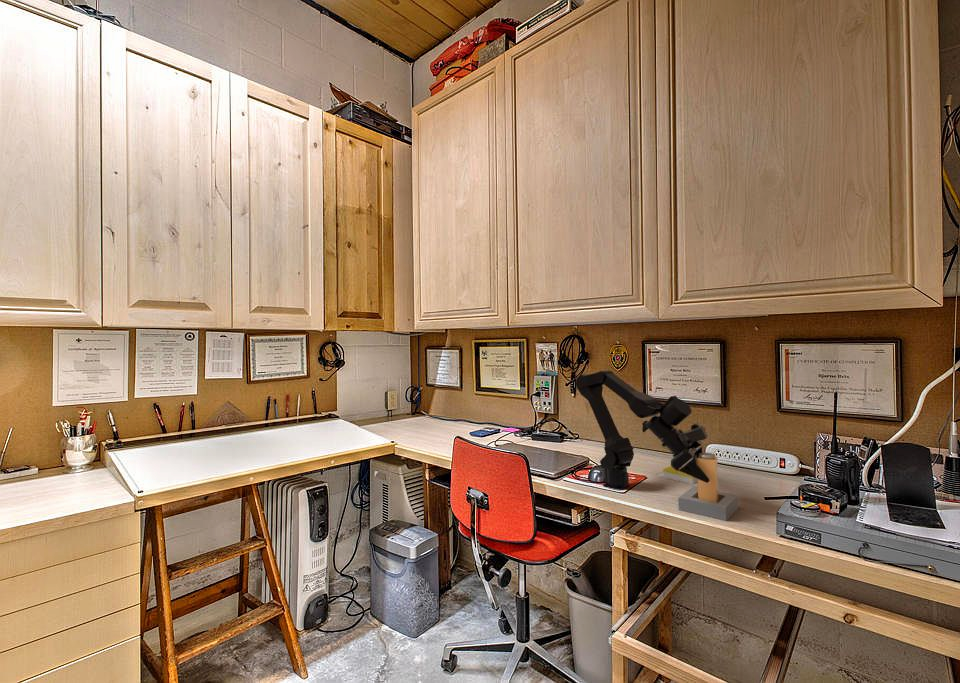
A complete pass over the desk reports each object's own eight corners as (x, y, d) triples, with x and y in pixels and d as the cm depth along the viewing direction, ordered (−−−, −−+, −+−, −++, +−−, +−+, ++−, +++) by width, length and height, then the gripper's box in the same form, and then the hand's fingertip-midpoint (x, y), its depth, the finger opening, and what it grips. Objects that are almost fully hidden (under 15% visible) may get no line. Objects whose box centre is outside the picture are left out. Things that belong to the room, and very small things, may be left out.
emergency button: (697, 473, 146) (655, 464, 158) (698, 487, 146) (656, 476, 158) (712, 468, 151) (670, 459, 163) (712, 481, 151) (670, 471, 163)
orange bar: (698, 505, 125) (697, 455, 125) (700, 500, 129) (699, 451, 129) (716, 508, 123) (715, 457, 123) (718, 503, 127) (717, 453, 127)
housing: (678, 510, 126) (678, 497, 126) (693, 498, 135) (693, 486, 135) (725, 521, 118) (725, 507, 118) (738, 507, 126) (738, 495, 126)
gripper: (682, 421, 121) (730, 468, 115) (693, 411, 136) (736, 451, 130) (652, 447, 125) (697, 493, 119) (666, 434, 141) (706, 475, 135)
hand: (710, 477), depth 126 cm, fingers open, 9 cm apart
